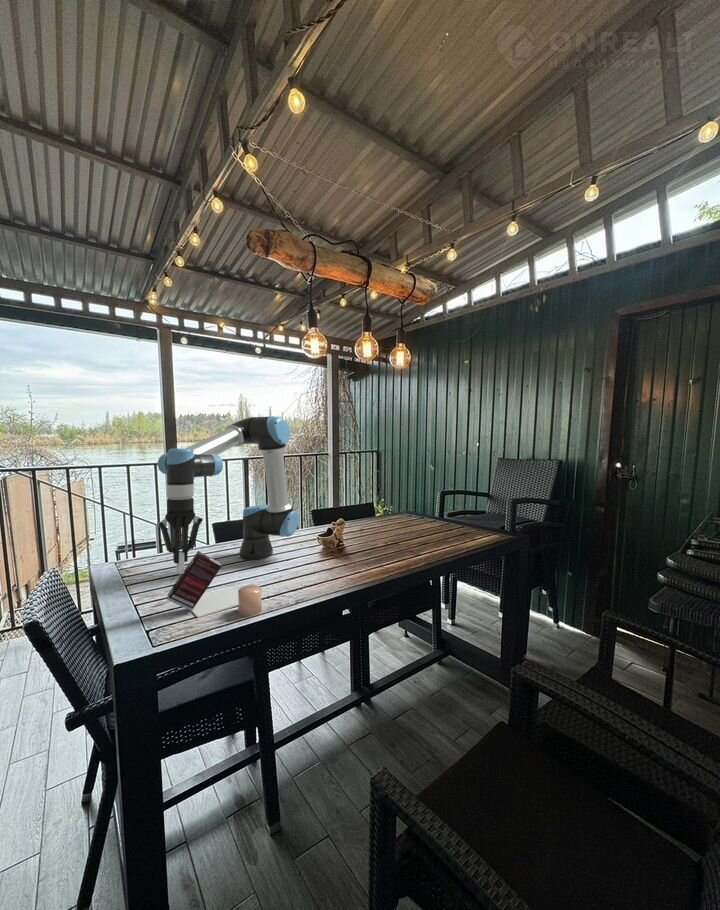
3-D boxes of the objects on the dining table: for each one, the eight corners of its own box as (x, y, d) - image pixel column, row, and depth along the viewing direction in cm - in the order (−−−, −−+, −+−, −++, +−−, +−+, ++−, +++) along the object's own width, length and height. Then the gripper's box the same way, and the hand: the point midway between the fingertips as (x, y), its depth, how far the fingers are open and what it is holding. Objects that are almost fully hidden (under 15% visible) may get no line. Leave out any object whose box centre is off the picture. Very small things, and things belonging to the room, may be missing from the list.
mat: (231, 587, 135) (231, 586, 135) (250, 601, 123) (250, 600, 123) (181, 600, 124) (181, 599, 124) (197, 618, 112) (197, 616, 112)
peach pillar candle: (255, 604, 122) (255, 583, 121) (265, 611, 117) (265, 590, 116) (234, 610, 117) (234, 589, 117) (244, 618, 112) (244, 596, 112)
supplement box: (191, 605, 119) (221, 562, 123) (191, 611, 115) (222, 566, 119) (166, 594, 116) (198, 549, 120) (166, 599, 112) (199, 553, 116)
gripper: (198, 494, 122) (198, 565, 122) (154, 498, 113) (154, 574, 114) (206, 497, 116) (205, 571, 117) (160, 500, 108) (160, 580, 108)
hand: (180, 572), depth 115 cm, fingers closed
